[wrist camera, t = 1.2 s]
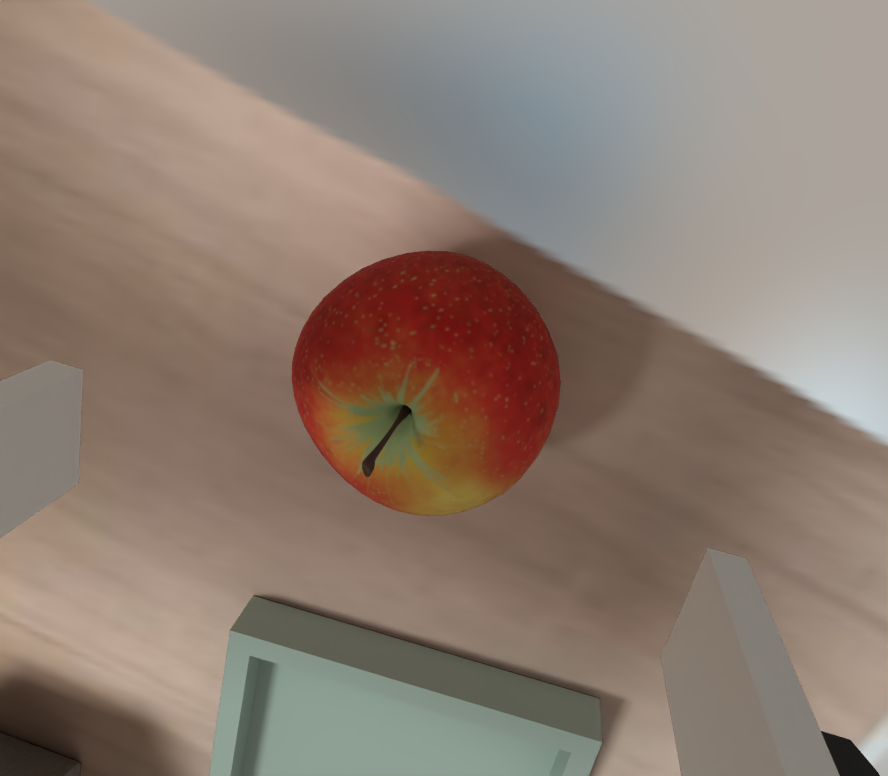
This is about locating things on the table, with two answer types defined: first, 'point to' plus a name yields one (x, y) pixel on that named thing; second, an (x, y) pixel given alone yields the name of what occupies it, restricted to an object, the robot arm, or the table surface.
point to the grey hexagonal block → (33, 760)
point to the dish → (385, 707)
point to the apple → (427, 382)
